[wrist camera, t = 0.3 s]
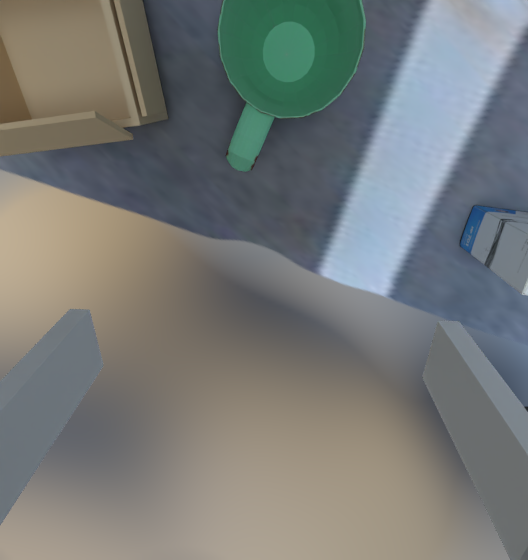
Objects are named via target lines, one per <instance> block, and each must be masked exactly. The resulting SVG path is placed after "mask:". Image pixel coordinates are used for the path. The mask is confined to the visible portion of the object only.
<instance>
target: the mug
mask: <svg viewBox="0 0 528 560" xmlns="http://www.w3.org/2000/svg"><path fill="white" fill-rule="evenodd" d="M365 27H366V18H365V13H364V8H363V3H362V0H223V1H222V6H221V12H220V17H219V23H218V29H217V30H218V42H219V54H220V58H221V61H222V64H223V67H224V69H225V72H226V75H227V77H228V80H229V82H230V83H231V84H232V86H233V87H234V88H235V90H236V91H237V92H238V94H239V95H240V97H241V98H242V99H243V100H244V101H246V105H245V107H244V110H243V112H242V115H241V117H240V119H239V122H238V124H237V127H236V129H235V132H234V135H233V137H232V140H231V142H230V145H229V147H228V150H227V153H226V158H227V160H228V162H229V163H230V165H231V166H232V167H233V168H235V169H236V170H240V171H244V172H245V171H250V170H252V168H253V166H254V164H255V162H256V160H257V157H258V155H259V153H260V150H261V148H262V146H263V144H264V141H265V139H266V137H267V134H268V132H269V130H270V127H271V125H272V123H273V120H274V118H275V117H277V118H280V119H286V118H303V117H305V116H308V115H310V114H313V113H315V112H318V111H321V110H323V109H324V108H325V107H327V106H328V105H329V104H330V103H331V102H333V101H334V100H335V99H336V98H337V97H339V96H340V95H341V94H342V92H343V91H344V89H345V88H346V87H347V85H348V84H349V82H350V81H351V79H352V78H353V76H354V75H355V73H356V70H357V67H358V64H359V61H360V58H361V55H362V53H363V50H364V41H365Z"/></svg>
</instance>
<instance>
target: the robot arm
mask: <svg viewBox="0 0 528 560" xmlns="http://www.w3.org/2000/svg"><path fill="white" fill-rule="evenodd" d="M102 367H103V361H102V357H101V353H100V349H99V345H98V342H97V337H96V333H95V329H94V326H93V322H92V318H91V314H90V310H83V309H82V310H81V309H70V310H69V311H68V312H67V313H66V314H65V315H64V316H63V317H62V318H61V319H60V320H59V321H58V322H57V323H56V324H55V325H54V326H53V327H52V328H51V329H50V330H49V331H48V332H47V333H46V334H45V335H44V336H43V338H42V339H41V340H40V341H39V342H38V343H37V344H36V345H35V346H34V347H33V348H32V349H31V350H30V351H29V352H28V353H27V354H26V355H25V356H24V357H23V358H22V359H21V360H20V361H19V362H18V363H17V364H16V365H15V366H14V367H13V369H12V370H11V371H10V372H9V373H8V374H7V375H6V376H5V377H4V378H3V379H2V380H1V381H0V525H1V523H2V522H3V520H4V519H5V517H6V516H7V514H8V513H9V511H10V509H11V508H12V506H13V505H14V503H15V502H16V500H17V499H18V497H19V496H20V494H21V493H22V491H23V489H24V488H25V486H26V485H27V483H28V482H29V480H30V479H31V477H32V476H33V474H34V472H35V471H36V469H37V468H38V466H39V465H40V463H41V462H42V460H43V459H44V457H45V455H46V454H47V452H48V451H49V449H50V448H51V446H52V445H53V443H54V442H55V440H56V438H57V437H58V435H59V434H60V432H61V431H62V429H63V428H64V426H65V425H66V423H67V421H68V420H69V418H70V417H71V415H72V414H73V412H74V411H75V409H76V408H77V406H78V404H79V403H80V401H81V400H82V398H83V397H84V395H85V393H86V392H87V391H88V389H89V387H90V386H91V384H92V383H93V381H94V380H95V378H96V377H97V375H98V373H99V372H100V370H101V369H102ZM422 378H423V380H424V382H425V384H426V386H427V388H428V390H429V392H430V394H431V396H432V399H433V400H434V403H435V405H436V407H437V409H438V411H439V413H440V415H441V417H442V419H443V421H444V423H445V425H446V427H447V430H448V432H449V434H450V436H451V438H452V440H453V442H454V444H455V446H456V448H457V450H458V452H459V454H460V456H461V459H462V461H463V463H464V465H465V467H466V469H467V471H468V473H469V475H470V477H471V479H472V481H473V483H474V485H475V487H476V489H477V492H478V493H479V496H480V498H481V500H482V502H483V504H484V506H485V508H486V510H487V512H488V514H489V516H490V518H491V521H492V522H493V525H494V527H495V529H496V531H497V533H498V535H499V537H500V539H501V541H502V543H503V545H504V547H505V550H506V552H507V554H508V556H509V558H510V560H528V407H524V406H523V405H522V404H521V403H520V401H519V400H518V399H517V397H516V396H515V395H514V393H513V392H512V391H511V389H510V388H509V387H508V385H507V384H506V383H505V381H504V380H503V379H502V378H501V376H500V375H499V374H498V372H497V371H496V369H495V368H494V367H493V366H492V364H491V363H490V362H489V360H488V359H487V358H486V356H485V355H484V354H483V352H482V351H481V350H480V349H479V347H478V346H477V344H476V343H475V342H474V341H473V339H472V338H471V337H470V335H469V334H468V333H467V331H466V330H465V329H464V327H463V326H462V325H461V323H460V322H459V321H438V322H437V326H436V329H435V333H434V337H433V340H432V344H431V348H430V351H429V355H428V359H427V362H426V366H425V369H424V373H423V377H422Z"/></svg>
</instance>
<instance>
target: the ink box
mask: <svg viewBox="0 0 528 560" xmlns="http://www.w3.org/2000/svg"><path fill="white" fill-rule="evenodd" d="M460 246H461V247H462V248H464V249H465V250H466V251H467V252H469V253H470V254H471V255H472V256H474V257H475V258H476V259H478V260H479V261H480V262H481V263H483V264H484V265H485V266H487V267H488V268H489V269H490V270H492V271H493V272H494V273H496V274H497V275H498V276H499V277H500V278H502V279H503V280H504V281H505V282H507V283H508V284H509V285H511V286H512V287H513V288H514V289H516V290H517V291H518V292H519V293H521V294H522V295H528V212H522V211H514V210H507V209H499V208H492V207H484V206H474V207H473V209H472V212H471V214H470V217H469V220H468V222H467V225H466V227H465V230H464V233H463V236H462V240H461V243H460Z"/></svg>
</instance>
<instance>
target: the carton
mask: <svg viewBox="0 0 528 560" xmlns="http://www.w3.org/2000/svg"><path fill="white" fill-rule="evenodd" d="M91 111H96V112H97V113H99V114H100V115H102V116H104V117H105V118H107V119H109V120H110V121H112V122H113V123H115V124H117V125H118V126H120V127H122V128H124V127H132V126H139V125H144V124H149V123H153V122H157V121H162V120H166V119H168V115H167V110H166V105H165V101H164V96H163V92H162V87H161V82H160V78H159V73H158V69H157V64H156V59H155V55H154V50H153V46H152V41H151V37H150V32H149V27H148V23H147V18H146V14H145V9H144V4H143V0H0V124H3V123H10V122H18V121H25V120H32V119H40V118H47V117H54V116H62V115H69V114H76V113H84V112H91Z"/></svg>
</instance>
